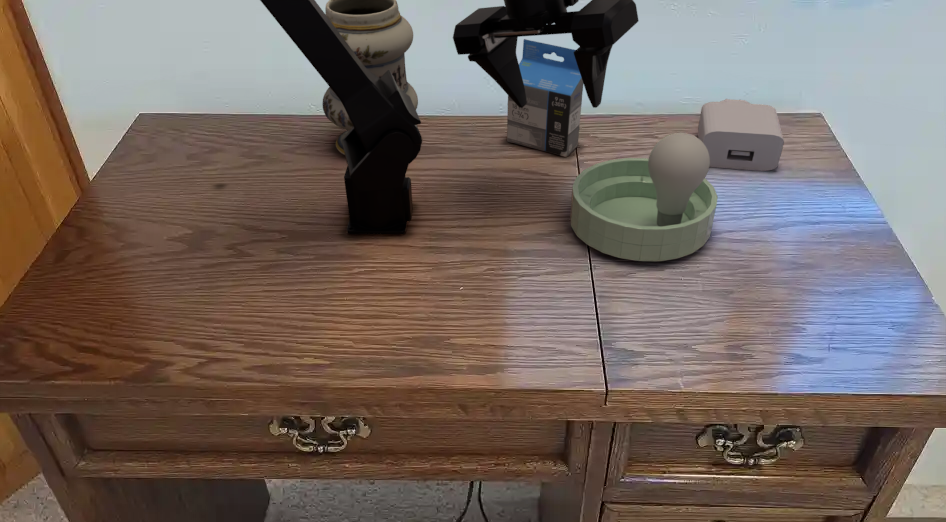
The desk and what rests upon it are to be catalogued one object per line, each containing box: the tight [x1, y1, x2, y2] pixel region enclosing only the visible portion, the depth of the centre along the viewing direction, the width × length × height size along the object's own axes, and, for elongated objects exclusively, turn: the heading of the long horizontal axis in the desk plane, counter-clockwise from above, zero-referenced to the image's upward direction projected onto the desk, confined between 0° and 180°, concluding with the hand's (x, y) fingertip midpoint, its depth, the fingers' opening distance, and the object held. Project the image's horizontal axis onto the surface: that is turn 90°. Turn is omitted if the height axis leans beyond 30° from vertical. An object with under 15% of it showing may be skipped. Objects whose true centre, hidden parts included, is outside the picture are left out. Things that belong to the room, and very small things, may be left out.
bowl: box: [569, 157, 718, 262], centre depth 87 cm, size 15×15×4 cm
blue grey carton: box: [506, 38, 584, 158], centre depth 100 cm, size 9×4×12 cm, turn 58°
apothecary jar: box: [322, 0, 419, 156], centre depth 99 cm, size 12×12×18 cm
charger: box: [697, 98, 785, 172], centre depth 102 cm, size 5×9×15 cm
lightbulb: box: [648, 132, 710, 226], centre depth 83 cm, size 6×6×11 cm
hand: (559, 105), depth 84 cm, fingers open, 9 cm apart
